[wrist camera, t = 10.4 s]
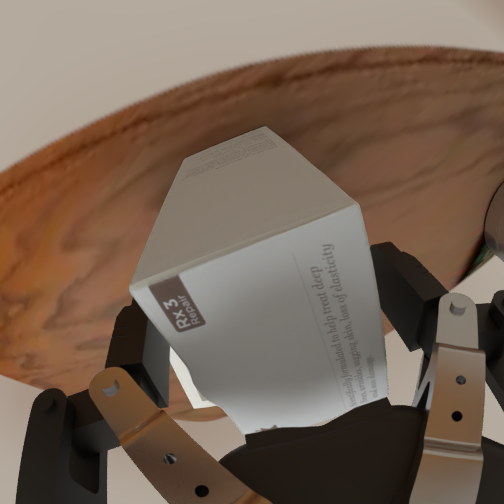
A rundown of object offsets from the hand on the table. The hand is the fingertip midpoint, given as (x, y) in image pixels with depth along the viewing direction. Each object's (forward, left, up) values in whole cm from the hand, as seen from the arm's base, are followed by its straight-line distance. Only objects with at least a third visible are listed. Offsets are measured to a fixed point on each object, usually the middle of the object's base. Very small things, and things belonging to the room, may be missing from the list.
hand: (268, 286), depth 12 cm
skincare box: (0, 0, -11) cm, 11 cm away
